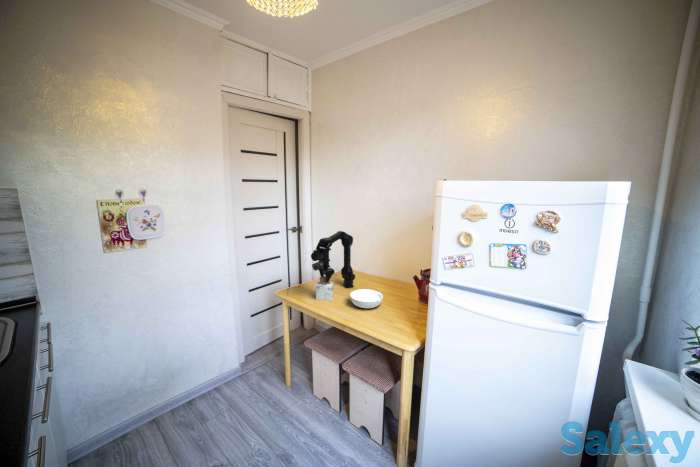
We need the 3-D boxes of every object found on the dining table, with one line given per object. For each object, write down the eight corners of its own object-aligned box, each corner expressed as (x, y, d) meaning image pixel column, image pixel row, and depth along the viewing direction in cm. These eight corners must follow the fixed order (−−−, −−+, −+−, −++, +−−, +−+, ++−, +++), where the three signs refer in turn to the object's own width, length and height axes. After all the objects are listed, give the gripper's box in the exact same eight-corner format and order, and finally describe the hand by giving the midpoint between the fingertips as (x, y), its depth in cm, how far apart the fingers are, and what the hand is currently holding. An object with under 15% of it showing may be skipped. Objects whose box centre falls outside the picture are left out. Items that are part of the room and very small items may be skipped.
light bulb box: (333, 296, 188) (333, 281, 186) (331, 300, 181) (331, 285, 180) (317, 295, 189) (317, 281, 187) (315, 299, 182) (315, 284, 181)
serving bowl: (379, 314, 163) (379, 303, 162) (345, 309, 169) (345, 298, 168) (385, 300, 183) (385, 291, 182) (354, 296, 189) (355, 287, 188)
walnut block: (326, 281, 187) (326, 275, 186) (329, 283, 182) (329, 278, 182) (319, 282, 184) (319, 276, 184) (322, 284, 180) (322, 279, 179)
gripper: (308, 255, 185) (308, 278, 187) (318, 262, 169) (318, 287, 171) (323, 254, 190) (323, 275, 193) (334, 260, 174) (334, 284, 176)
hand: (324, 280), depth 183 cm, fingers open, 9 cm apart
